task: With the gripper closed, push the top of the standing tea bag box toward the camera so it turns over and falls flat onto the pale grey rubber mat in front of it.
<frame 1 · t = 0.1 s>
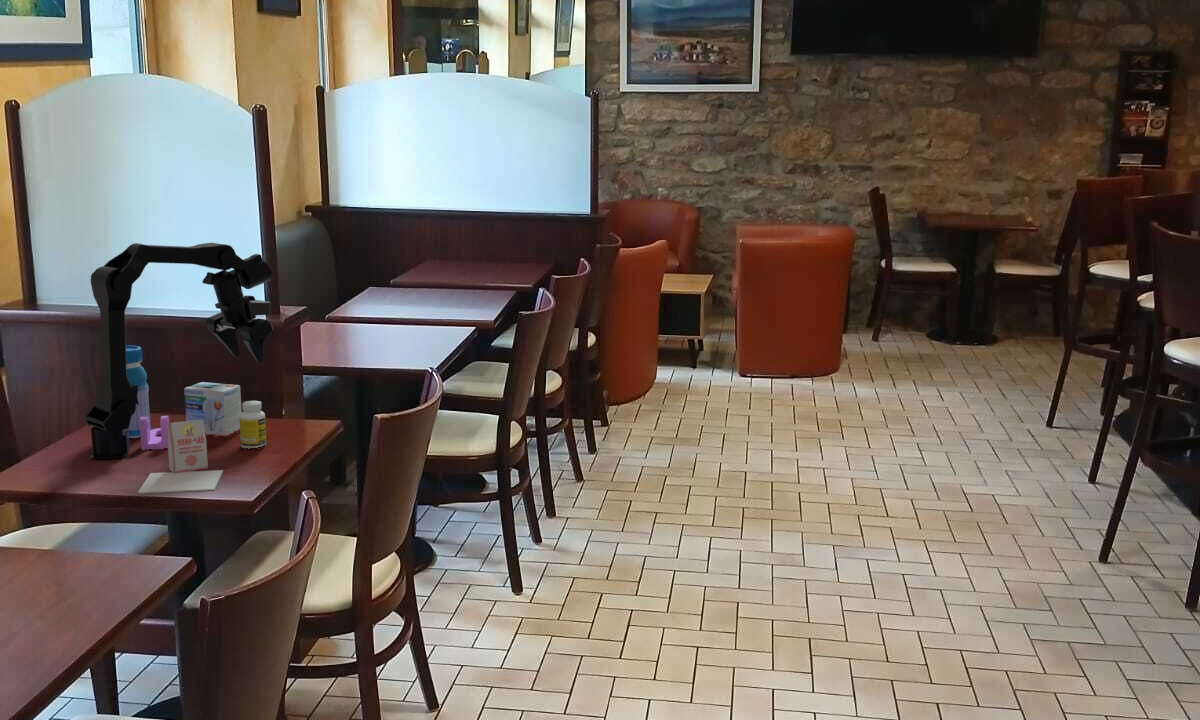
hand: (248, 359, 266), 15 cm above the table, tool pointing down, fingers open, 9 cm apart
bracket: (159, 442, 254), on the table
mat: (181, 482, 226), on the table
beverage bottle: (132, 435, 259), on the table
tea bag: (188, 470, 234), on the table, touching mat
supplement bottle: (253, 446, 251), on the table
light bulb box: (215, 432, 262), on the table
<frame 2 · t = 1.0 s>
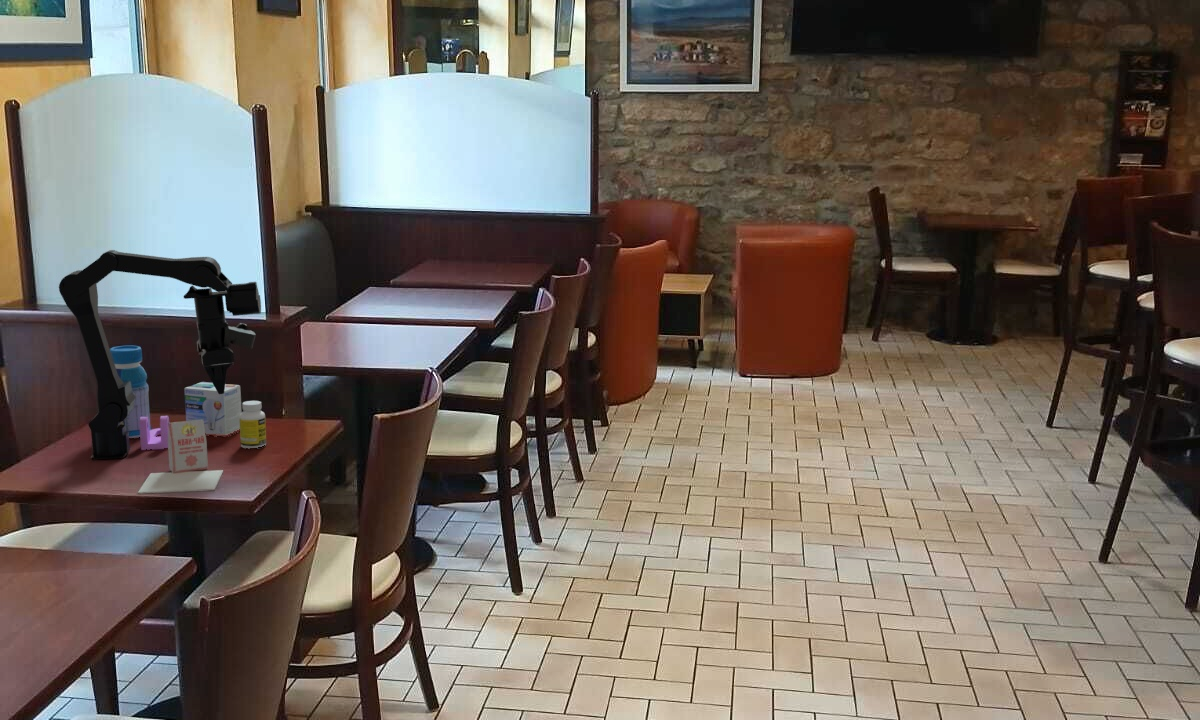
hand: (219, 389, 245), 14 cm above the table, tool pointing down, fingers open, 9 cm apart
nothing on the table moved.
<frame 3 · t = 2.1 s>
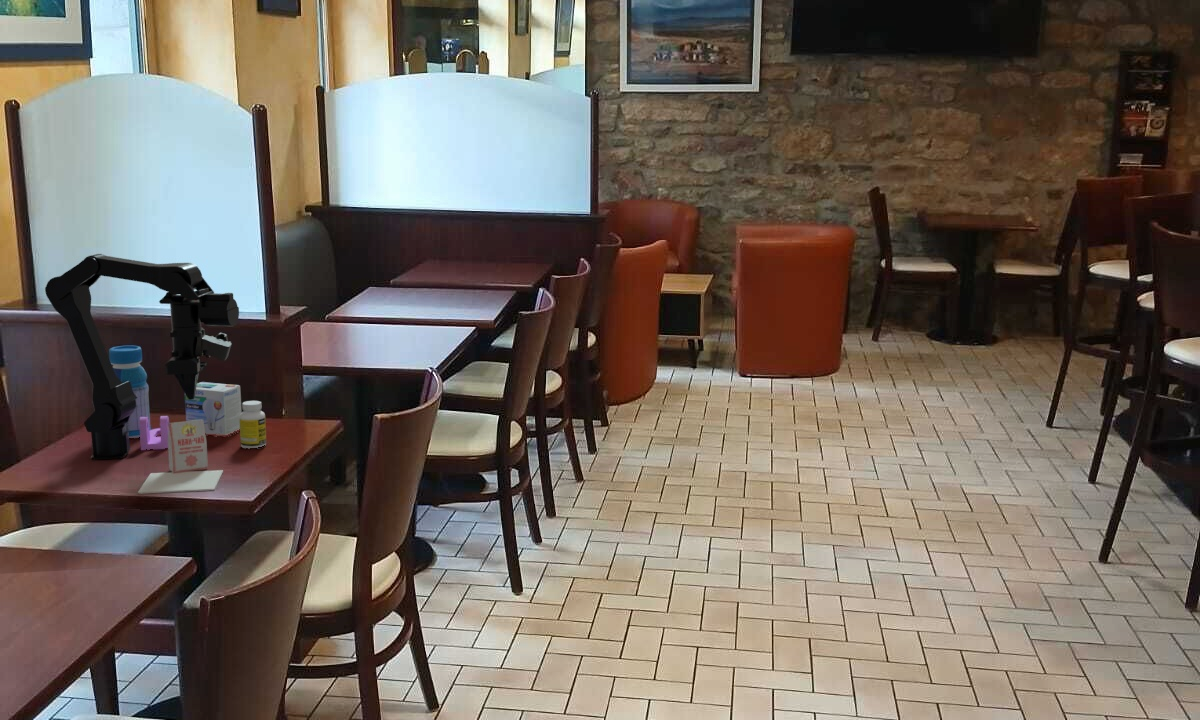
hand: (191, 398, 239), 13 cm above the table, tool pointing down, fingers closed
nothing on the table moved.
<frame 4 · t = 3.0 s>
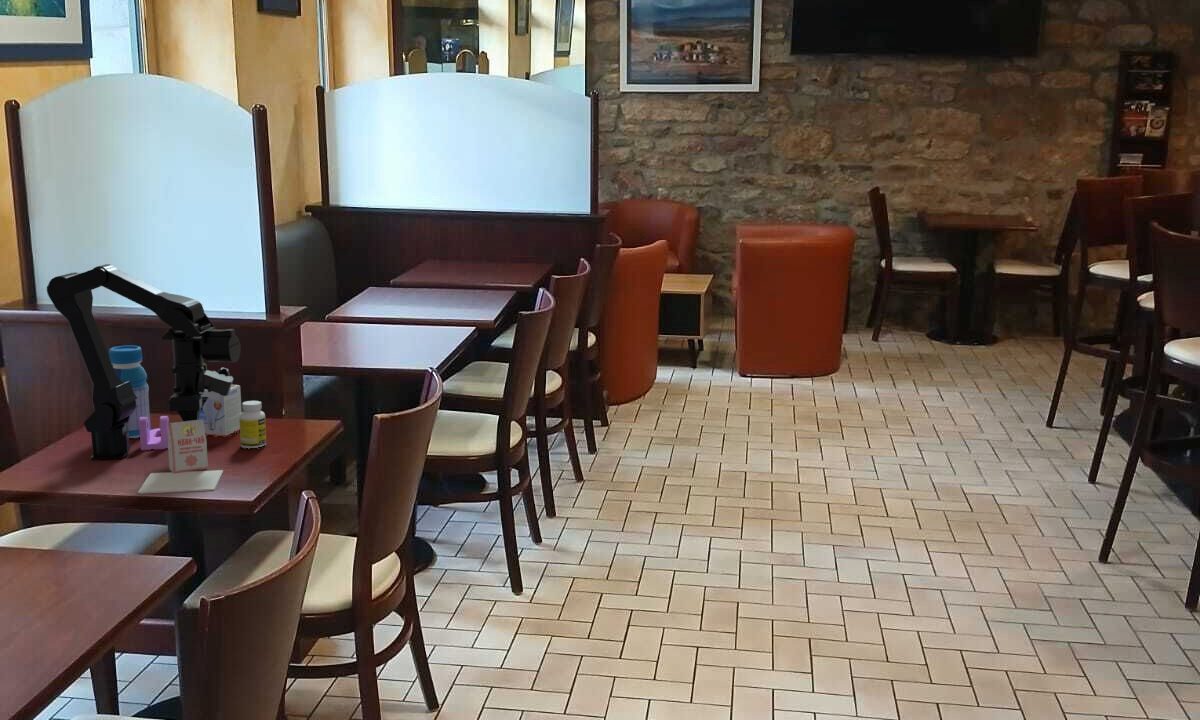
hand: (193, 433, 240), 6 cm above the table, tool pointing down, fingers closed
nothing on the table moved.
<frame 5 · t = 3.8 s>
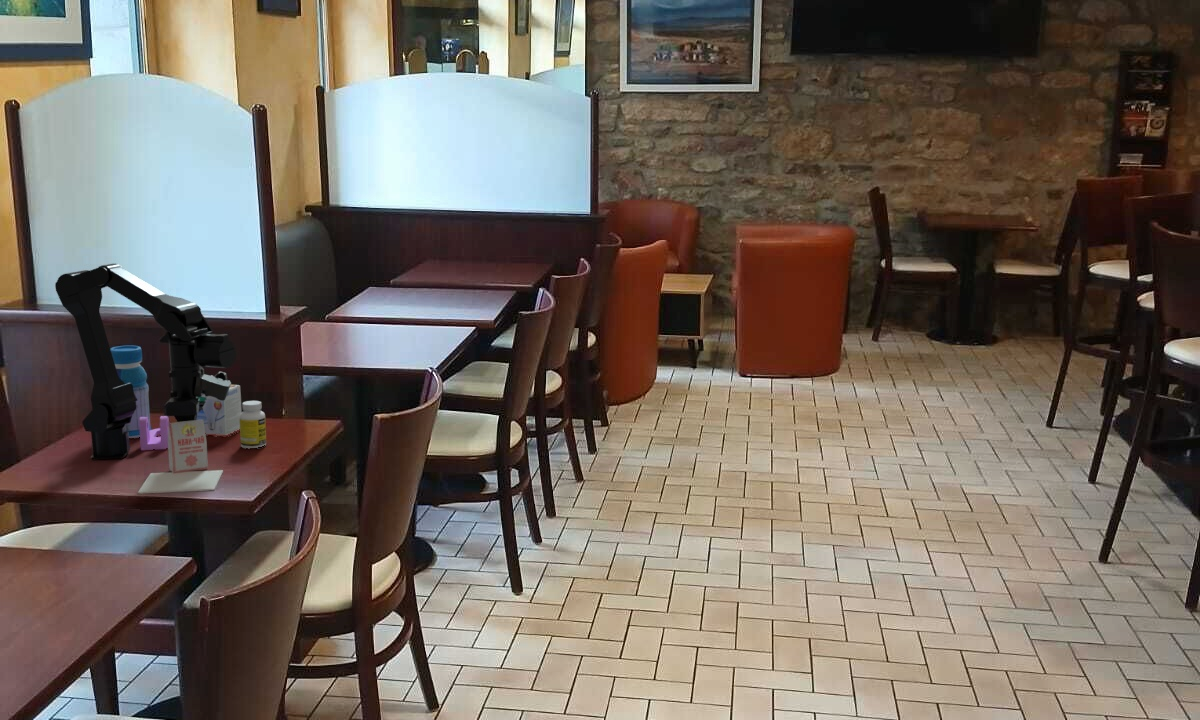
hand: (190, 438, 236), 6 cm above the table, tool pointing down, fingers closed
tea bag: (188, 470, 234), on the table, touching gripper, mat
everything else where it was.
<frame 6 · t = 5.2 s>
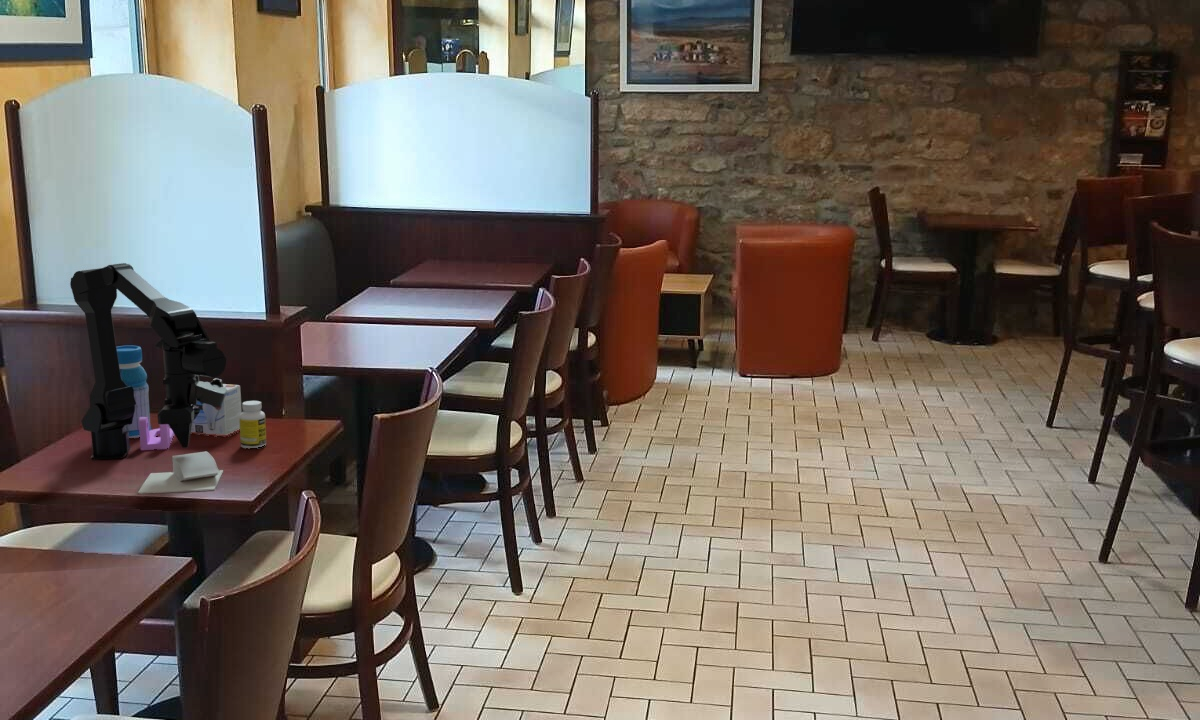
hand: (185, 447, 230), 6 cm above the table, tool pointing down, fingers closed
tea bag: (190, 462, 232), point 2 cm above the table, touching mat
everything else where it was.
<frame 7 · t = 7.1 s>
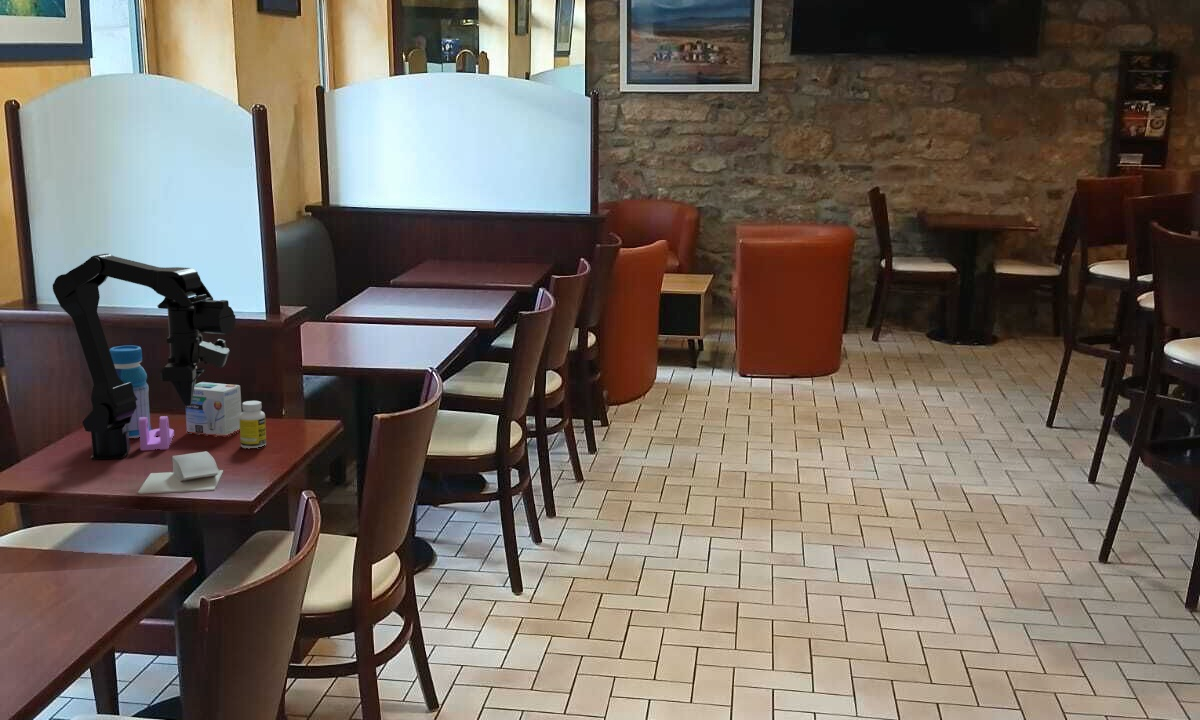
hand: (188, 405, 236), 12 cm above the table, tool pointing down, fingers closed
nothing on the table moved.
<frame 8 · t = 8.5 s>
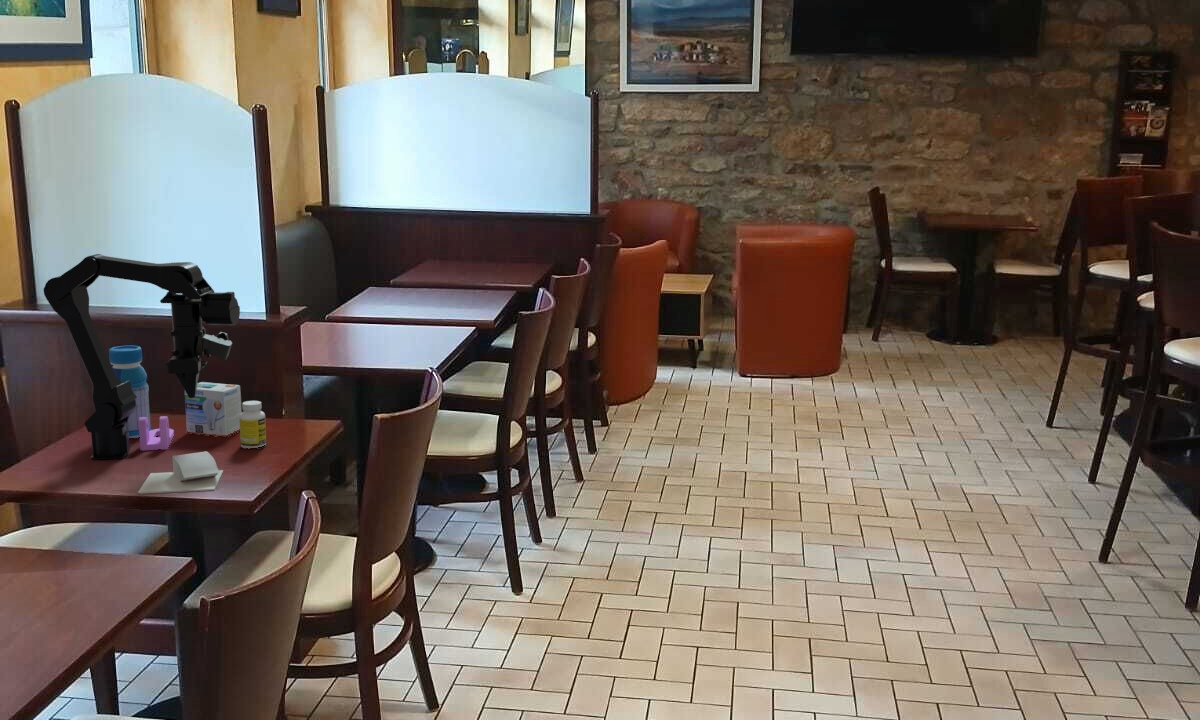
hand: (192, 397, 240), 13 cm above the table, tool pointing down, fingers closed
nothing on the table moved.
at the end: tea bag tilted 90°; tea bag 6.4 cm from the mat (horizontally); the gripper is holding nothing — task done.
